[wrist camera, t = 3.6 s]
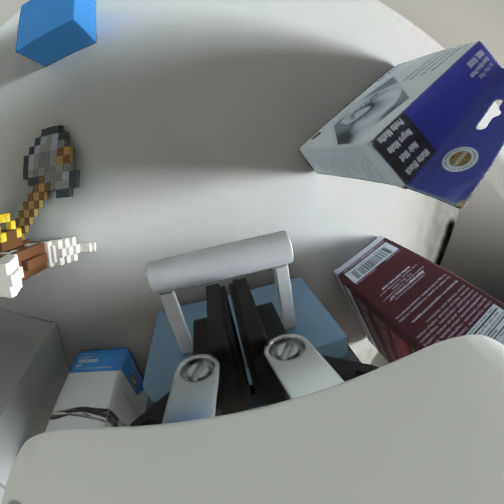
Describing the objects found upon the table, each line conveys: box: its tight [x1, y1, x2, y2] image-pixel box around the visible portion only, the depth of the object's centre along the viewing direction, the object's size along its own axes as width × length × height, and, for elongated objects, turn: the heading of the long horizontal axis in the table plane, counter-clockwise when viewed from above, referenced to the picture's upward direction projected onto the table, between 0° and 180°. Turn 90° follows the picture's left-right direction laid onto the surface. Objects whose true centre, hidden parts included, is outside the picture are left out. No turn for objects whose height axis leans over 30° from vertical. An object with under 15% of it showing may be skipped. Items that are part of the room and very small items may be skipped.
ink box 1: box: [45, 348, 148, 432], centre depth 14 cm, size 8×5×12 cm, turn 7°
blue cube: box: [16, 0, 97, 67], centre depth 9 cm, size 4×4×4 cm
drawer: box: [143, 231, 348, 402], centre depth 15 cm, size 16×9×7 cm, turn 11°
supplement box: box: [334, 236, 504, 363], centre depth 13 cm, size 9×5×16 cm, turn 33°
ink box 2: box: [300, 41, 504, 209], centre depth 10 cm, size 12×2×12 cm, turn 133°
